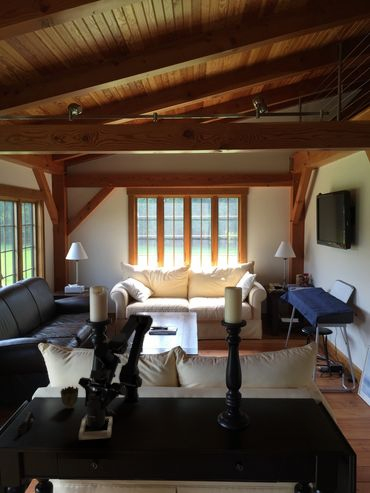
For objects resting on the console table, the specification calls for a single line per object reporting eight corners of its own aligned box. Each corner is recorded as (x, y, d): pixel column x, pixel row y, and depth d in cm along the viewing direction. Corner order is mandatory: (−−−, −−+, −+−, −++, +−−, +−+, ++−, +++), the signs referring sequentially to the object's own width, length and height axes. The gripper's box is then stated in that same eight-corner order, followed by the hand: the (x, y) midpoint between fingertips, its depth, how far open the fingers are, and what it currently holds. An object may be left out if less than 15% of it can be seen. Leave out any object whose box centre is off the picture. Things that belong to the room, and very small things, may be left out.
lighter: (26, 440, 148) (21, 432, 145) (21, 439, 148) (15, 431, 145) (36, 418, 155) (32, 410, 152) (31, 417, 155) (26, 409, 152)
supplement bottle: (87, 430, 145) (86, 398, 144) (86, 420, 152) (85, 390, 151) (106, 426, 147) (105, 395, 146) (104, 417, 154) (103, 388, 153)
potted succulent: (57, 410, 166) (56, 391, 165) (68, 402, 172) (67, 384, 172) (71, 413, 163) (71, 394, 162) (82, 405, 170) (82, 387, 169)
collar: (83, 423, 154) (82, 418, 154) (112, 421, 156) (112, 416, 156) (78, 440, 143) (78, 434, 143) (110, 437, 144) (110, 431, 144)
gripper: (80, 357, 154) (63, 396, 145) (121, 363, 148) (107, 404, 139) (92, 369, 162) (76, 407, 153) (132, 375, 156) (118, 415, 147)
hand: (94, 408), depth 148 cm, fingers closed on supplement bottle, 7 cm apart
